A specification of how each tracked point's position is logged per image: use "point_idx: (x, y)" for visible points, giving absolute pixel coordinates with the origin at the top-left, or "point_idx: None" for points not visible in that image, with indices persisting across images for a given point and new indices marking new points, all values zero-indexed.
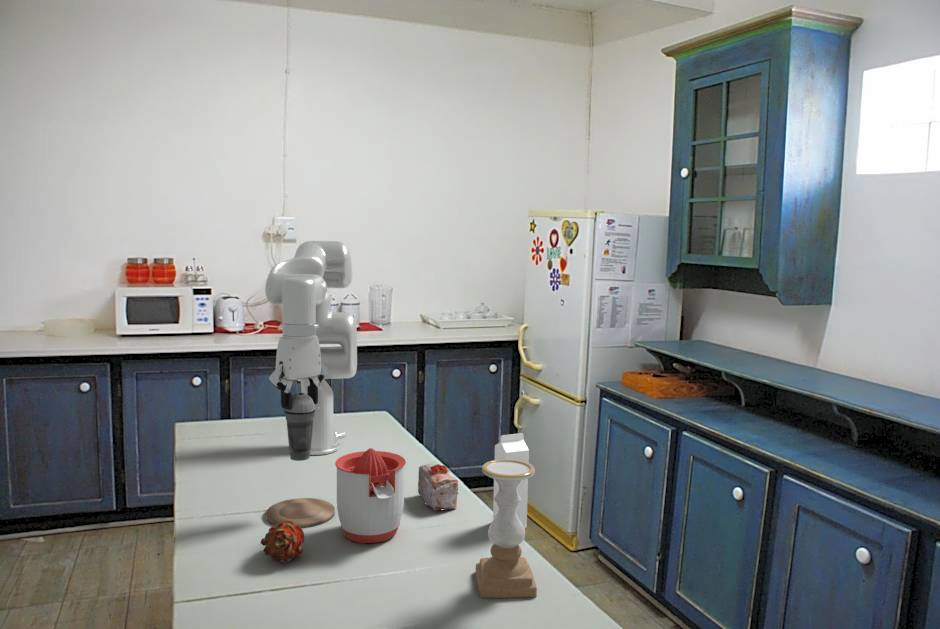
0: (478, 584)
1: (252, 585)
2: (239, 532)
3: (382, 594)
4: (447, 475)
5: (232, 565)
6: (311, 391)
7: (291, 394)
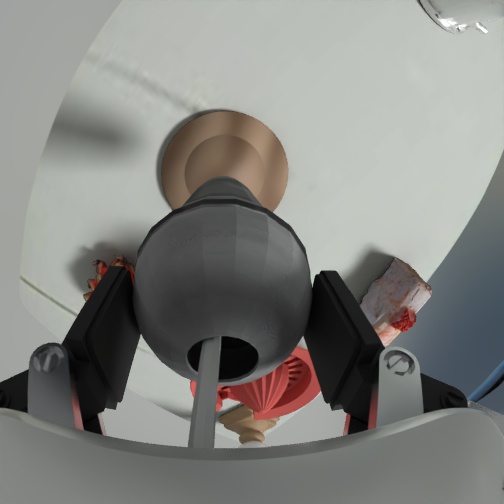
0: (228, 415)
1: (72, 301)
2: (110, 164)
3: (163, 382)
4: (394, 333)
5: (66, 250)
6: (330, 359)
7: (120, 398)
